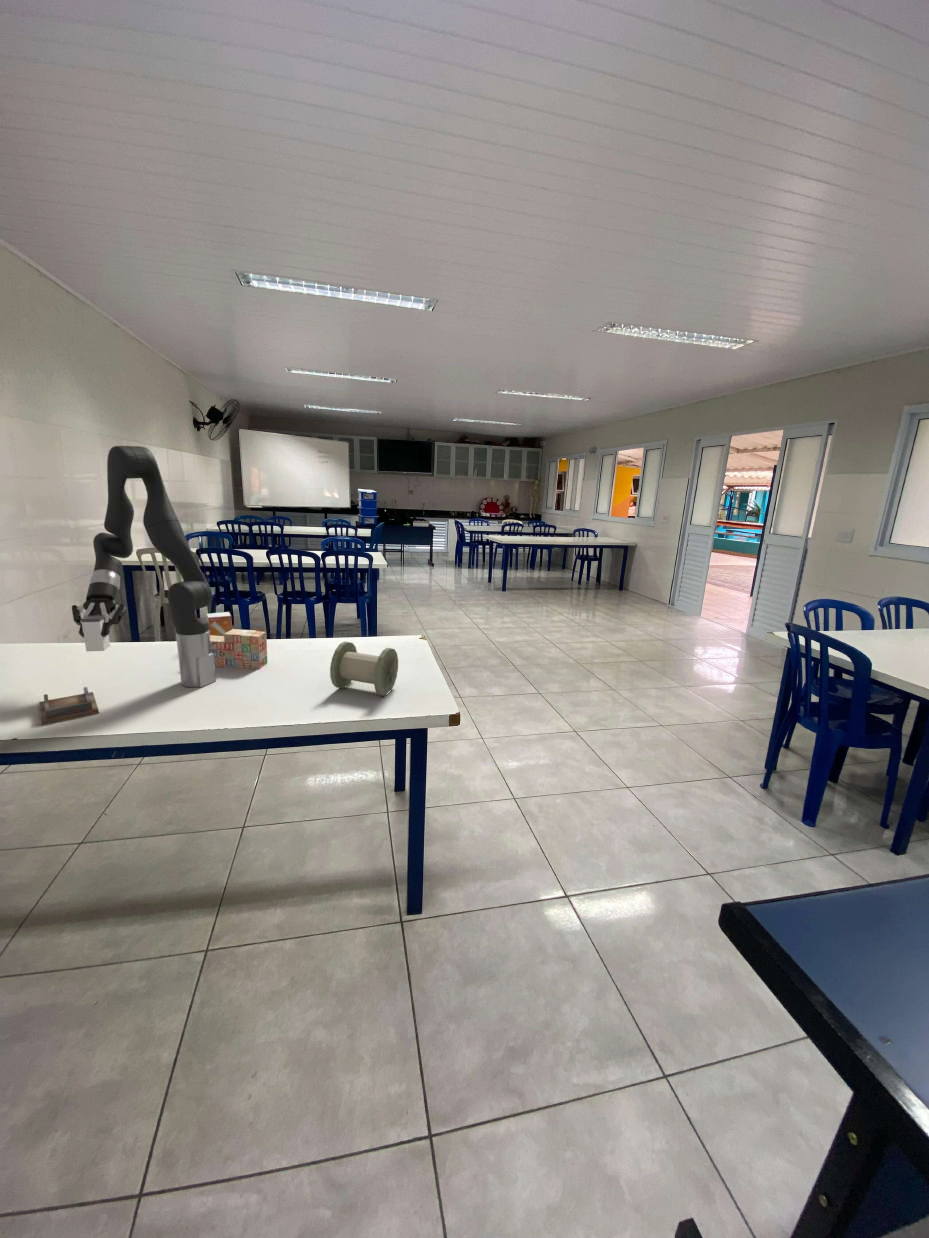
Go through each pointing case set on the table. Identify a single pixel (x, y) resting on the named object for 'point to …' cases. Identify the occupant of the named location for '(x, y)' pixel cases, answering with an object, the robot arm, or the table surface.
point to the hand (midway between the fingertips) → (93, 635)
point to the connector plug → (94, 633)
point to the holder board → (67, 707)
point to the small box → (219, 623)
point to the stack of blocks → (240, 649)
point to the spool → (364, 668)
